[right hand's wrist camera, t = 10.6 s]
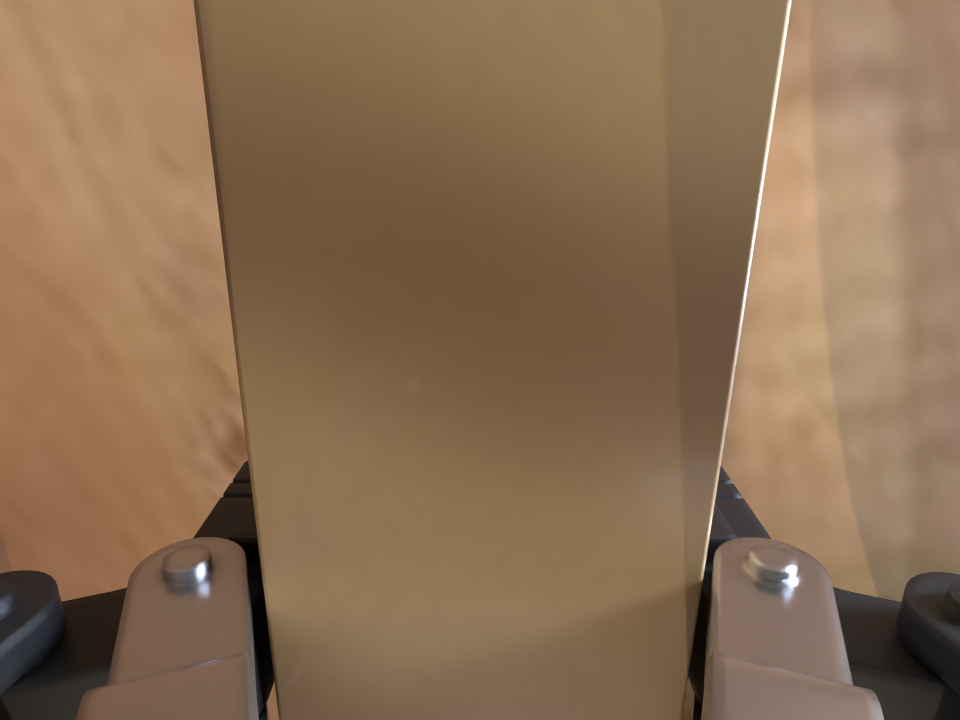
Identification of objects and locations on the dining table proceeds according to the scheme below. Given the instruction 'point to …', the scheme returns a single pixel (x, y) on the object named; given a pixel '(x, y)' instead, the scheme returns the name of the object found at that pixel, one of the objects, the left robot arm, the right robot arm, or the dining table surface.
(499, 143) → the bar
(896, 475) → the dining table surface
